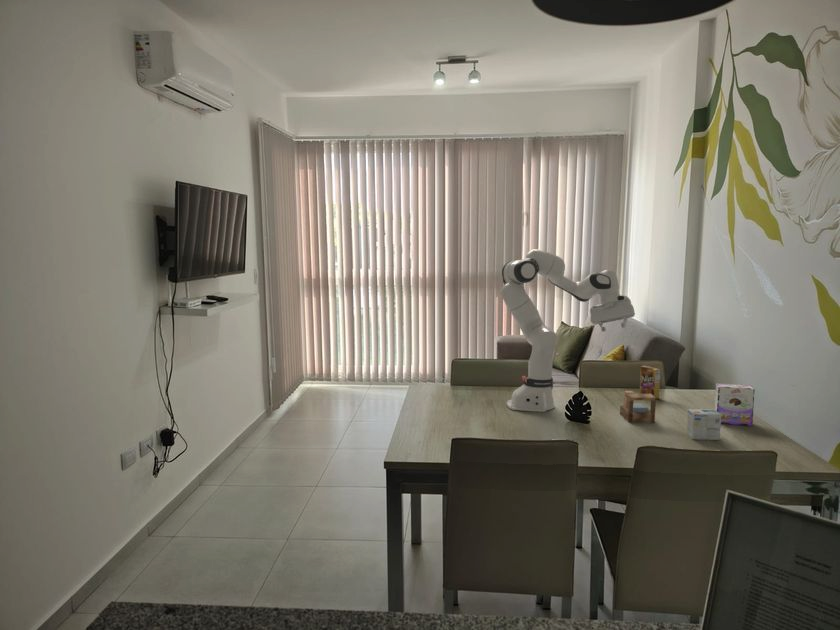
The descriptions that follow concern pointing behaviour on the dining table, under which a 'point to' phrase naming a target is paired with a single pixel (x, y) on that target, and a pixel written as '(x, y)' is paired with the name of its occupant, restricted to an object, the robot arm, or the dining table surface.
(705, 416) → the light bulb box
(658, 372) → the candy box
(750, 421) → the candy box
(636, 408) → the tethered block
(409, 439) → the dining table surface
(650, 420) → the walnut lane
